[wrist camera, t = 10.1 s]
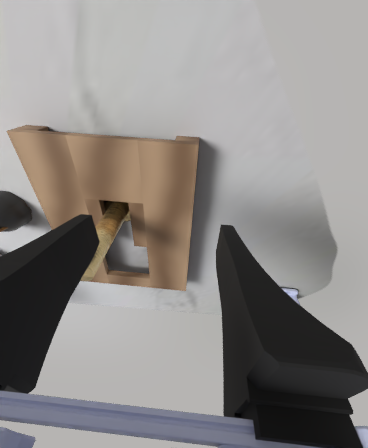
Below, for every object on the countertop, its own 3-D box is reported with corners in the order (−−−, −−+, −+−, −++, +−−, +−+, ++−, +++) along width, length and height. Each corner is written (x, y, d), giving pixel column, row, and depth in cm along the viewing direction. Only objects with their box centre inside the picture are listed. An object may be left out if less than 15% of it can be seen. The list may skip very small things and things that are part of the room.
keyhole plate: (199, 137, 18) (198, 144, 16) (186, 277, 30) (185, 290, 28) (26, 125, 18) (6, 130, 16) (83, 267, 31) (75, 280, 29)
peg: (137, 187, 21) (98, 255, 13) (143, 217, 24) (112, 290, 16) (101, 186, 22) (42, 253, 14) (110, 216, 24) (65, 287, 16)
